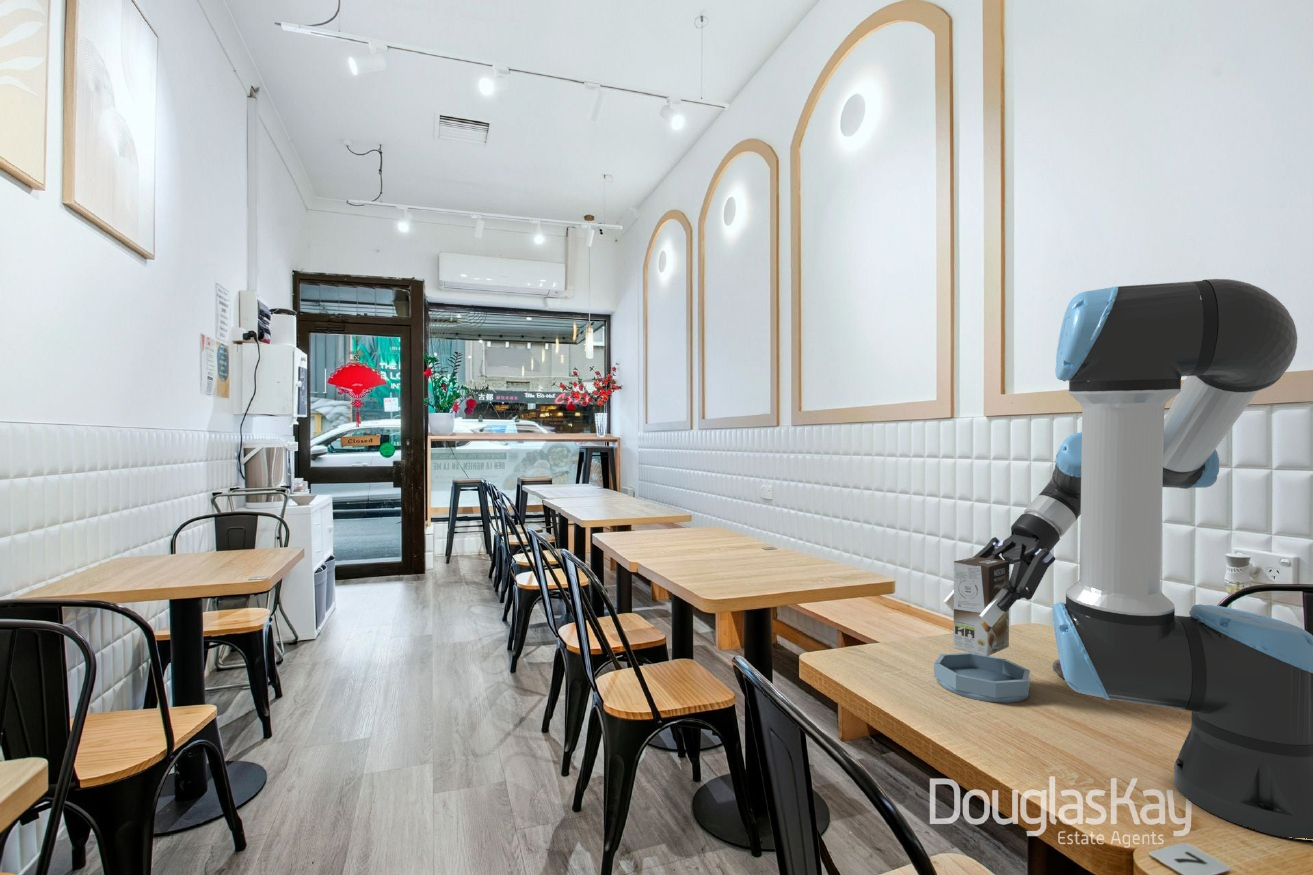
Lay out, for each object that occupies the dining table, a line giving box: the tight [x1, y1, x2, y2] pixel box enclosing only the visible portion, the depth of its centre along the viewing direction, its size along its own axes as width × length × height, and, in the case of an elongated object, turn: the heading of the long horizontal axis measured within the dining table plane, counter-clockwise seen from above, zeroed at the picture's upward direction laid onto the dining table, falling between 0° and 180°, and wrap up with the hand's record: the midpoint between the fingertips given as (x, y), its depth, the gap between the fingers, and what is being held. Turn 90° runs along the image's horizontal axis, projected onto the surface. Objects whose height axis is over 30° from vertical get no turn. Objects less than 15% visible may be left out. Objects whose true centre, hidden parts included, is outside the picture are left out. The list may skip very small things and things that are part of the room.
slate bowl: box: [933, 652, 1031, 704], centre depth 115 cm, size 15×15×4 cm
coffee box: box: [952, 556, 1010, 656], centre depth 115 cm, size 9×6×16 cm
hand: (966, 613), depth 115 cm, fingers closed on coffee box, 9 cm apart
